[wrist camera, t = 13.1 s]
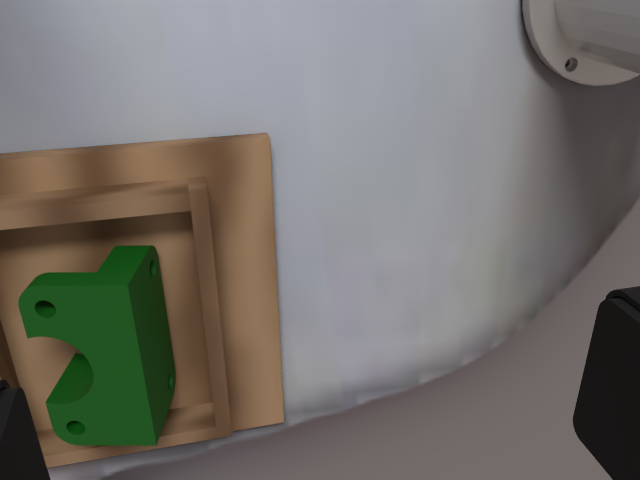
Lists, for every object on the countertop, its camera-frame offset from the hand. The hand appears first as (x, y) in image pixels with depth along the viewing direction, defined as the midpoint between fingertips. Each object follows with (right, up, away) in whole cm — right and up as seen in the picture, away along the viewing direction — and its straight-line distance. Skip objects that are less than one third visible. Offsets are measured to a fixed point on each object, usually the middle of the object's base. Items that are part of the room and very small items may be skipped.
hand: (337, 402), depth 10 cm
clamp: (-14, -2, +29) cm, 32 cm away
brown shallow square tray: (-14, -2, +30) cm, 33 cm away
